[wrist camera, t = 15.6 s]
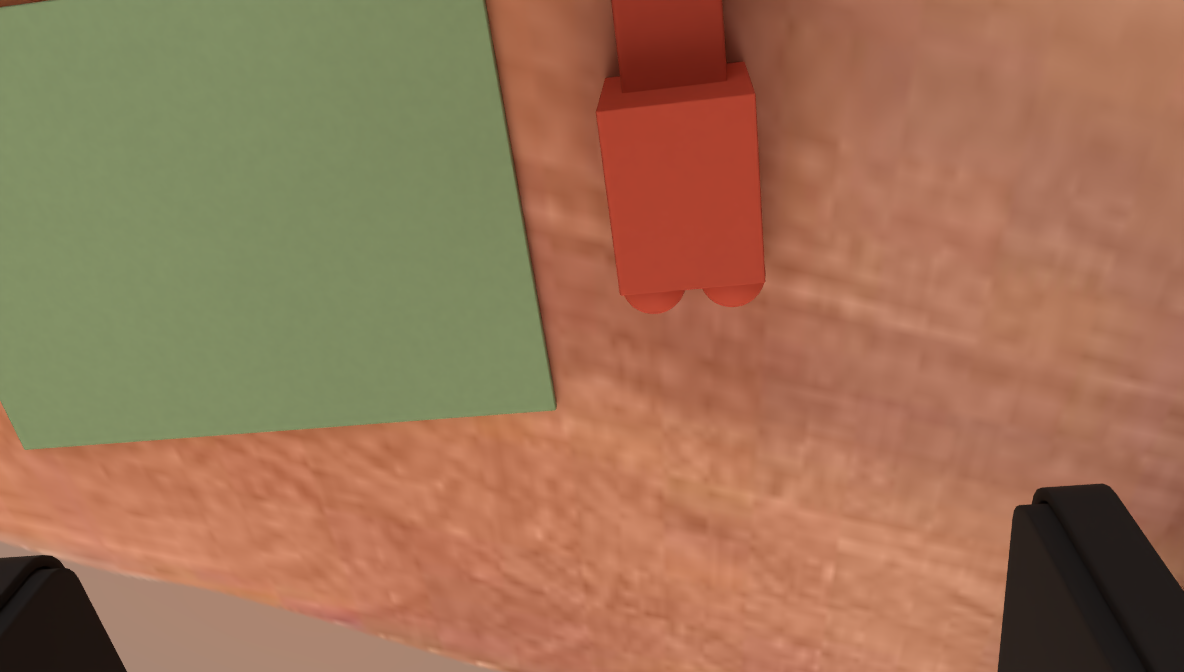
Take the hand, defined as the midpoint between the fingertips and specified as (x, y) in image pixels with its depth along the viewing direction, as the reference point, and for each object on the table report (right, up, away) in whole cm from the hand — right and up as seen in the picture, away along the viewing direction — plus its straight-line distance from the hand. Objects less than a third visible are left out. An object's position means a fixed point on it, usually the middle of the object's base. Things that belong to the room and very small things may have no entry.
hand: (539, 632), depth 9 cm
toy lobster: (+3, +8, +19) cm, 21 cm away
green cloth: (-12, +6, +21) cm, 25 cm away
